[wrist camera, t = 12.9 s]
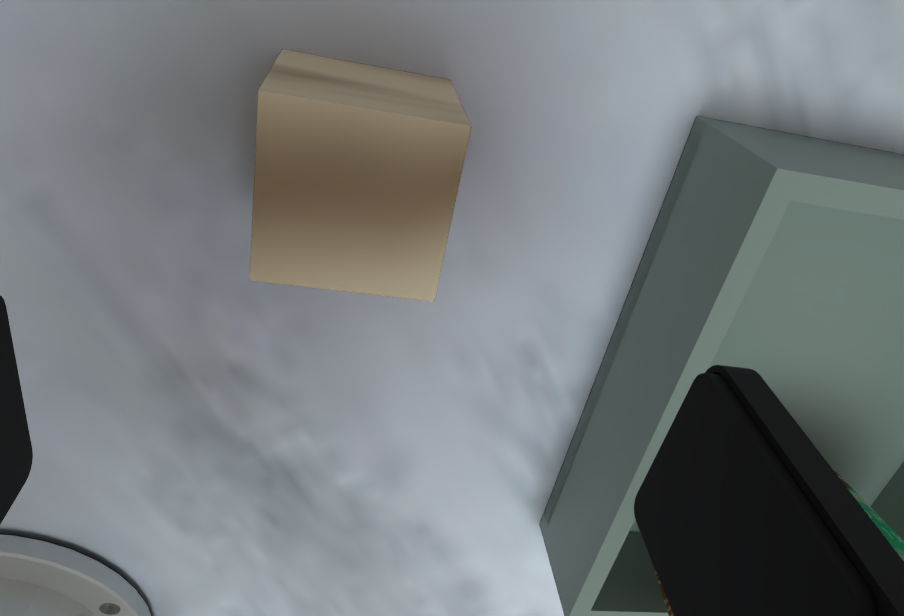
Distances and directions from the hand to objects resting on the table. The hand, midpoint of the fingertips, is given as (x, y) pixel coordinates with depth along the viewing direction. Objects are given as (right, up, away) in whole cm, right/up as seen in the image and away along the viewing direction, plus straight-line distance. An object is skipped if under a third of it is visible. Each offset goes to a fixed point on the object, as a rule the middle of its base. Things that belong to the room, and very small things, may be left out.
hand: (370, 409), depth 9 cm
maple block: (-2, +7, +12) cm, 14 cm away
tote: (+15, -2, +19) cm, 24 cm away
